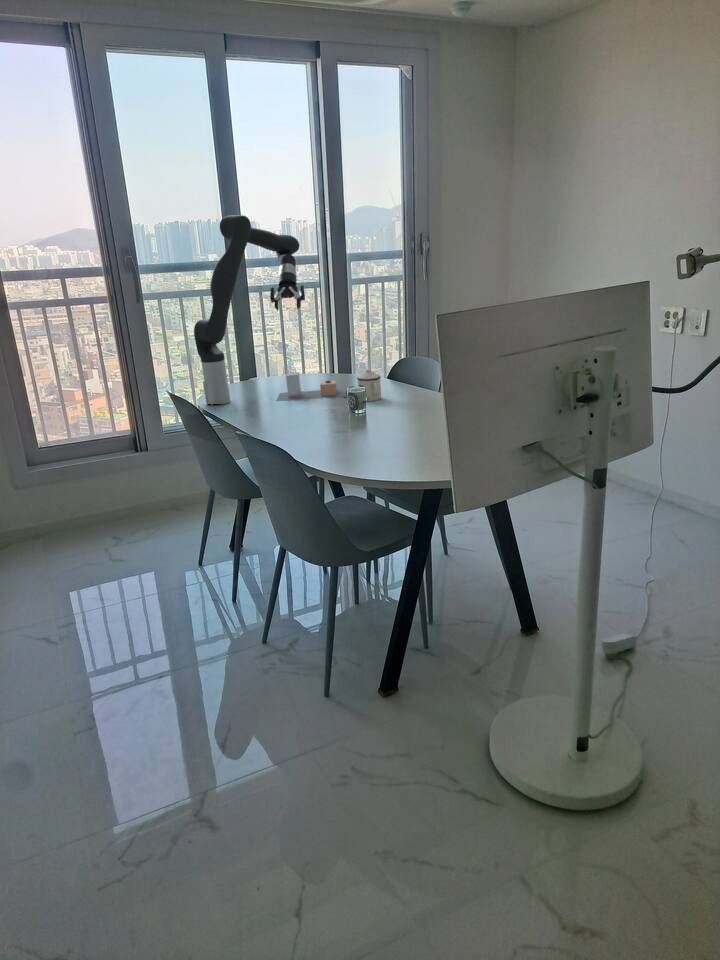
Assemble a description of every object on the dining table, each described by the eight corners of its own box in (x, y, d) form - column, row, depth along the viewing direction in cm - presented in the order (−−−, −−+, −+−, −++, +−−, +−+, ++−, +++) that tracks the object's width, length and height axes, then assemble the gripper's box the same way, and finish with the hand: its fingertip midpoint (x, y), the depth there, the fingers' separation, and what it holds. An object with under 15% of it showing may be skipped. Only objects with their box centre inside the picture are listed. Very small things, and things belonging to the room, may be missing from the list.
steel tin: (288, 397, 266) (285, 375, 262) (289, 394, 270) (287, 373, 267) (300, 396, 265) (298, 374, 262) (301, 393, 270) (299, 372, 267)
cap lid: (321, 395, 265) (320, 382, 263) (321, 392, 271) (320, 379, 269) (336, 394, 265) (335, 381, 263) (336, 391, 270) (335, 378, 269)
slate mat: (276, 402, 262) (275, 401, 261) (280, 394, 275) (279, 392, 275) (346, 397, 261) (346, 396, 261) (346, 389, 274) (346, 388, 274)
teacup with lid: (355, 398, 259) (353, 369, 255) (376, 394, 262) (374, 365, 258) (366, 404, 249) (364, 374, 244) (388, 401, 251) (386, 370, 247)
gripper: (269, 272, 274) (268, 303, 267) (303, 270, 274) (303, 301, 267) (272, 284, 281) (272, 315, 274) (305, 282, 281) (306, 312, 274)
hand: (287, 308), depth 271 cm, fingers open, 8 cm apart
